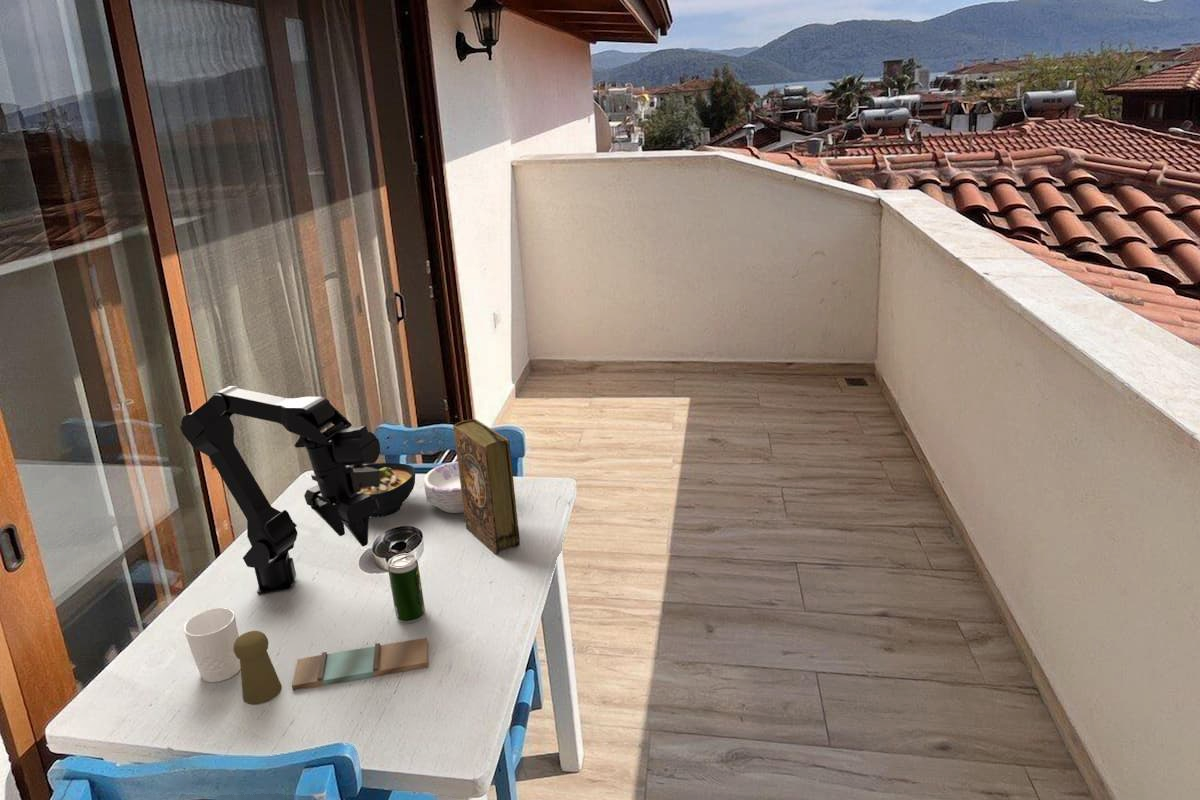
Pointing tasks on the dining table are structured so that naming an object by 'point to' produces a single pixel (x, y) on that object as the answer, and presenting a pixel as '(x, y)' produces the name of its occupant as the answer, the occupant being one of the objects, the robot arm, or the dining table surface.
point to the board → (360, 663)
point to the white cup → (214, 643)
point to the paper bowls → (444, 488)
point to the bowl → (390, 487)
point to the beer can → (406, 588)
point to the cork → (256, 668)
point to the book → (487, 485)
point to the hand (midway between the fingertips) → (353, 540)
